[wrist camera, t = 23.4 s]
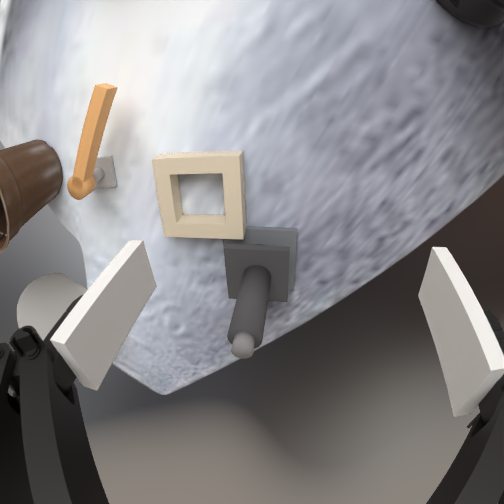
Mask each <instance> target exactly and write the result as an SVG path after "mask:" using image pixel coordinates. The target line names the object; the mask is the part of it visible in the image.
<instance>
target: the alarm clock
mask: <svg viewBox="0 0 504 504" xmlns="http://www.w3.org/2000/svg"><path fill="white" fill-rule="evenodd" d="M86 291H87V289H86V288H84V287H83V286H81V285H79V284H78V283H76V282H75V281H73V280H71V279H70V278H68V277H67V276H65V275H64V274H62V273H55V274H49V275H45V276H42V277H40V278H38V279H35V280H34V281H33V282H32V283H30V284H29V285H28V286H27V287H26V289H25V290H24V291H23V293H22V294H21V296H20V299H19V302H18V305H17V321H18V326H19V329H20V328H21V327H23V326H28V325H29V326H33V327H34V328H35V329H36V331H37V333H38V334H39V336H40V337H41V339H42V340H44V339H45V337H46V336H47V335H48V333H49V332H50V331H51V329H52V328H53V326H54V325H55V324H56V322H57V321H58V320H59V319H60V318H61V316H62V315H63V313H64V312H66V309H67V308H68V307H69V306H70V304H71V303H72V302H73V301H74V300H75V299H77V298H78V297H79V296H81V295H84V294H85V293H86Z"/></svg>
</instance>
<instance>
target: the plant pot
mask: <svg viewBox="0 0 504 504" xmlns="http://www.w3.org/2000/svg"><path fill="white" fill-rule="evenodd" d="M61 184H62V169H61V165H60V161H59V158H58V156H57V154H56V152H55V151H54V149H53V148H52V147H50V146H48V145H47V144H46V142H45V141H42V140H33V141H30V142H26V143H23V144H20V145H16V146H13V147H10V148H6V149H3V150H0V252H2V251H3V250H5V248H6V247H7V245H8V243H9V241H10V240H11V239H12V238H13V237H14V236H15V235H16V234H17V233H18V231H19V230H20V228H21V227H22V226H23V225H24V224H25V223H26V222H27V221H28V220H29V219H30V218H31V217H33V216H34V215H35V214H36V213H37V212H38V211H39V210H40V209H42V208H43V207H44V206H45V205H46V204H47V203H49V202H50V201H51V200H52V199H54V198H55V197H56V196H57V194H58V193H59V189H60V186H61Z"/></svg>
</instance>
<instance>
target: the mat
mask: <svg viewBox="0 0 504 504" xmlns="http://www.w3.org/2000/svg"><path fill="white" fill-rule="evenodd" d="M296 243H297V228H273V227H246V233H245V236H244V239H223V244H224V247H225V245H226V244H239V245H256V244H261V245H266V246H287V247H290V257H289V279H288V290H291V291H294V278H295V262H296ZM224 255H225V254H224ZM225 266H226V265H225ZM226 276H227V275H226ZM227 286H228V285H227Z"/></svg>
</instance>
